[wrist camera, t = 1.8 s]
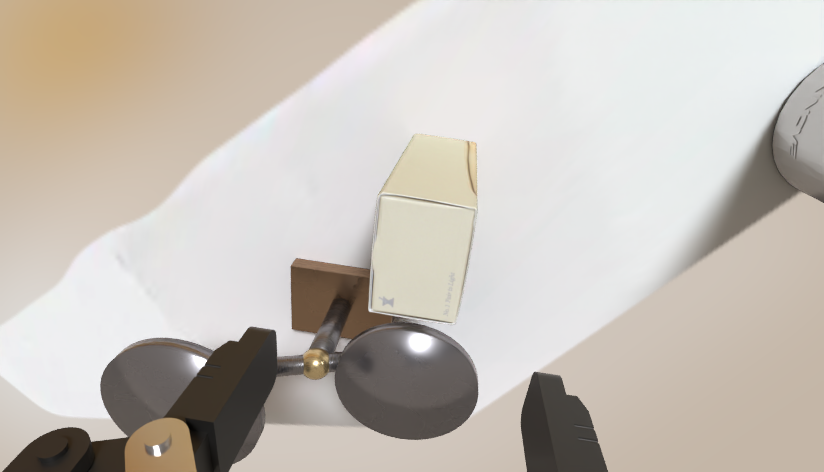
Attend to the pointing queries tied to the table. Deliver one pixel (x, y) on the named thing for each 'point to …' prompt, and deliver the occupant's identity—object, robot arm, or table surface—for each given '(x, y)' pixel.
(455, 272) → the skincare box
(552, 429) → the robot arm
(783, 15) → the table surface
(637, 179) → the table surface
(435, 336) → the balance
